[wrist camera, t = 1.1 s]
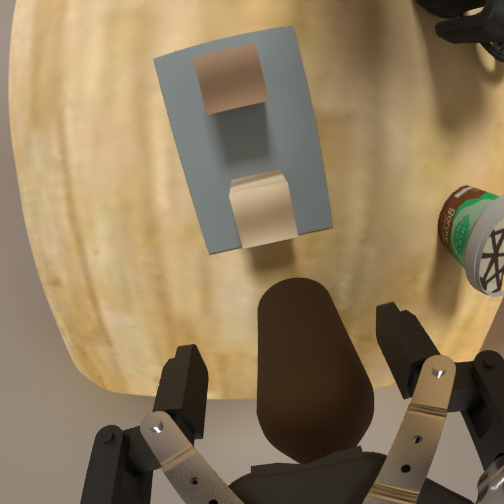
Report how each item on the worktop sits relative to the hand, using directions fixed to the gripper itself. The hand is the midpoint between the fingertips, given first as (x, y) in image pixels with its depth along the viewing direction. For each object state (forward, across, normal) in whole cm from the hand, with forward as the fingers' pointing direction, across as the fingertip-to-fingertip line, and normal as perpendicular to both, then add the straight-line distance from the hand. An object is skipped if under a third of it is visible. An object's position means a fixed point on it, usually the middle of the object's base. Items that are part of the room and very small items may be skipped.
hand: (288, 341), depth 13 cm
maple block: (+22, 0, 0) cm, 22 cm away
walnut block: (+21, 0, -12) cm, 25 cm away
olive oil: (+22, -1, +15) cm, 27 cm away
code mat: (+22, 0, -6) cm, 23 cm away
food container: (+22, -23, +8) cm, 33 cm away
